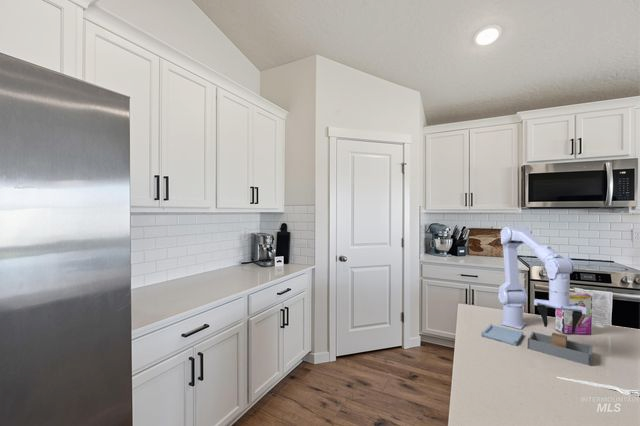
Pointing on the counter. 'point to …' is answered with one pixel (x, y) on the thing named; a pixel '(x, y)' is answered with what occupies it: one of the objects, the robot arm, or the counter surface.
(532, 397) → the counter surface
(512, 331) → the light blue tray
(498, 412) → the counter surface
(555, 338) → the walnut block
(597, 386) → the fork
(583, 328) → the candy bar box
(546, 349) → the gray rectangular bin
